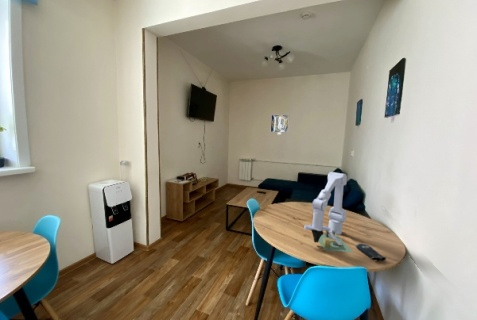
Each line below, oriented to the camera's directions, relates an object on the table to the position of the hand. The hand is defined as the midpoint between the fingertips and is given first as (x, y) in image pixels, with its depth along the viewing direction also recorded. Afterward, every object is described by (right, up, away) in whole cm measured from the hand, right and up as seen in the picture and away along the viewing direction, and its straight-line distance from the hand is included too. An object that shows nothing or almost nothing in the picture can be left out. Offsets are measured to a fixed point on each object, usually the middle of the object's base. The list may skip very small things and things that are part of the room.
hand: (315, 241), depth 117 cm
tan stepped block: (+8, -3, 0) cm, 8 cm away
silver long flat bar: (+14, 0, +5) cm, 15 cm away
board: (+11, -4, +5) cm, 13 cm away
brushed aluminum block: (+14, -2, +5) cm, 15 cm away
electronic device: (+29, -6, -4) cm, 29 cm away
